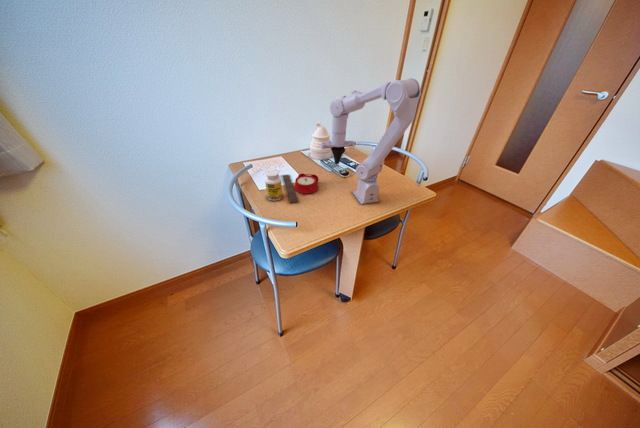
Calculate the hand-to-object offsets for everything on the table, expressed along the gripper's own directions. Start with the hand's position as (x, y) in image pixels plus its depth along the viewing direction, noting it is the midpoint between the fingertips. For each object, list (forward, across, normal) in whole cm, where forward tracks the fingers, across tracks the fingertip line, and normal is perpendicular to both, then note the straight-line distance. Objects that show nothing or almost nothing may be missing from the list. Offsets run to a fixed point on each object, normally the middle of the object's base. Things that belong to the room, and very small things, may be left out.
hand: (336, 163), depth 97 cm
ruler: (+9, +22, 0) cm, 24 cm away
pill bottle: (+10, +29, +6) cm, 31 cm away
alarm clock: (+10, +14, +1) cm, 17 cm away
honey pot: (+10, -2, -33) cm, 35 cm away
